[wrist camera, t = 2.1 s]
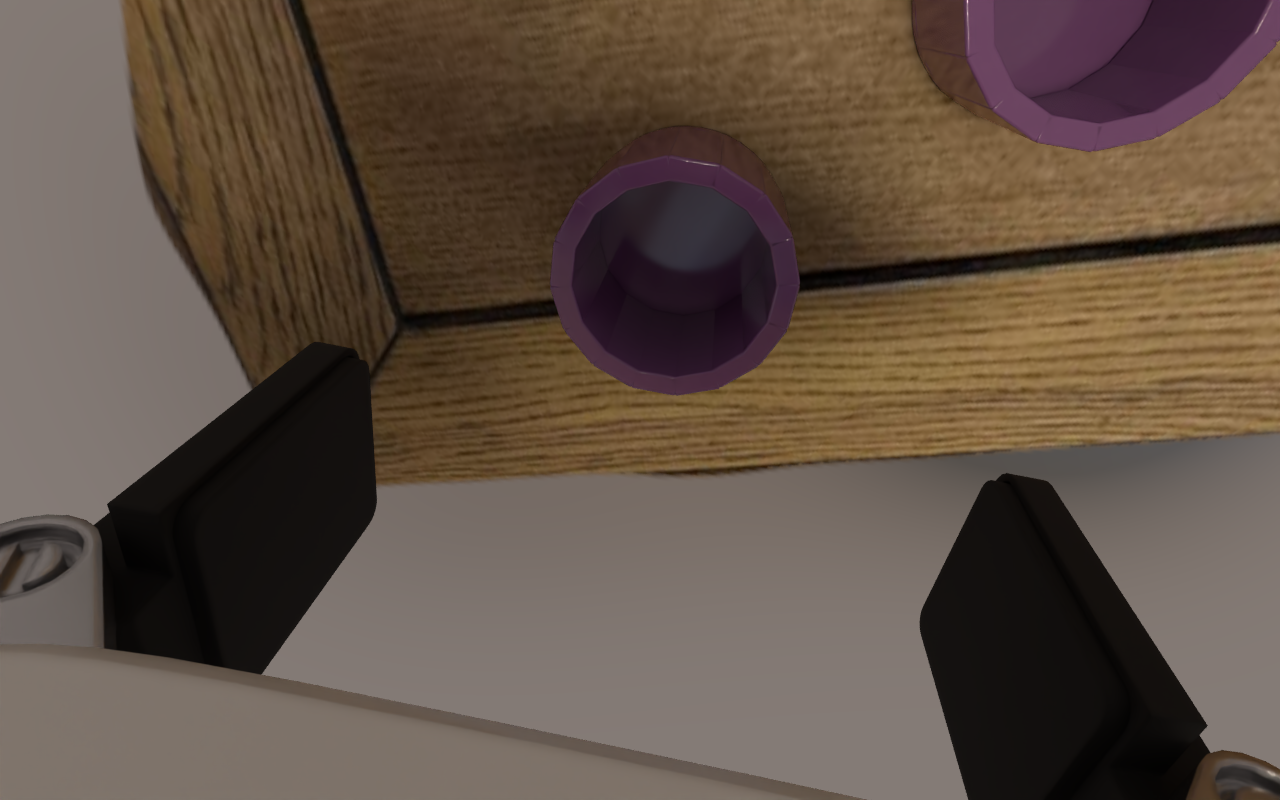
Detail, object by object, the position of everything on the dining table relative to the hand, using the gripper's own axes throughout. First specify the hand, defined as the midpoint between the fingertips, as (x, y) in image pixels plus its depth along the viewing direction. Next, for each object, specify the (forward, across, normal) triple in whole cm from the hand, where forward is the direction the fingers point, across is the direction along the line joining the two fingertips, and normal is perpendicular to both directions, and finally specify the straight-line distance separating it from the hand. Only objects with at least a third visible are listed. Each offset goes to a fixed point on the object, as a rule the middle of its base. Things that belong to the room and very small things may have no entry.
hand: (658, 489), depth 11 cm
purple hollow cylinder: (+14, -7, -8) cm, 17 cm away
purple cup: (+14, +1, 0) cm, 14 cm away
